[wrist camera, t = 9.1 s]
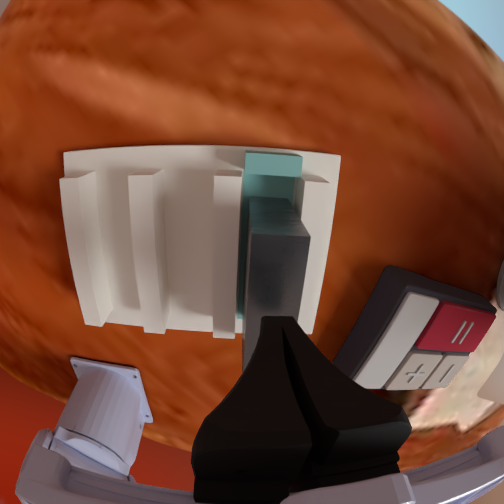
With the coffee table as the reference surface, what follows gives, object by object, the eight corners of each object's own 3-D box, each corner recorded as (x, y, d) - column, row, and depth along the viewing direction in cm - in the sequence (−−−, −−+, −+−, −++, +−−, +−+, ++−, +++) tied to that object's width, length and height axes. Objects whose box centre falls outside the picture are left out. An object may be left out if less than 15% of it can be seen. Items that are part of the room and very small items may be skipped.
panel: (275, 315, 22) (285, 383, 16) (242, 314, 22) (242, 383, 16) (287, 198, 19) (311, 236, 12) (248, 195, 19) (251, 233, 12)
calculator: (446, 391, 25) (343, 395, 23) (431, 367, 29) (330, 361, 27) (502, 313, 21) (411, 289, 19) (480, 292, 25) (385, 262, 22)
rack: (309, 326, 24) (317, 354, 21) (93, 313, 23) (77, 337, 20) (336, 154, 19) (354, 160, 16) (70, 151, 18) (43, 157, 15)
